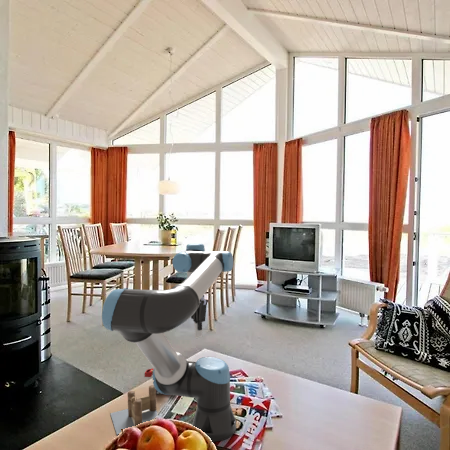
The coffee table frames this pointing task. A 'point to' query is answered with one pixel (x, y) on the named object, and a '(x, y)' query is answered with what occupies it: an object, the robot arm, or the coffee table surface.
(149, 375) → the toy fire truck
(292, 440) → the coffee table surface
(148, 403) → the fence fixed
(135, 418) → the fence flap
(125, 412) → the board
